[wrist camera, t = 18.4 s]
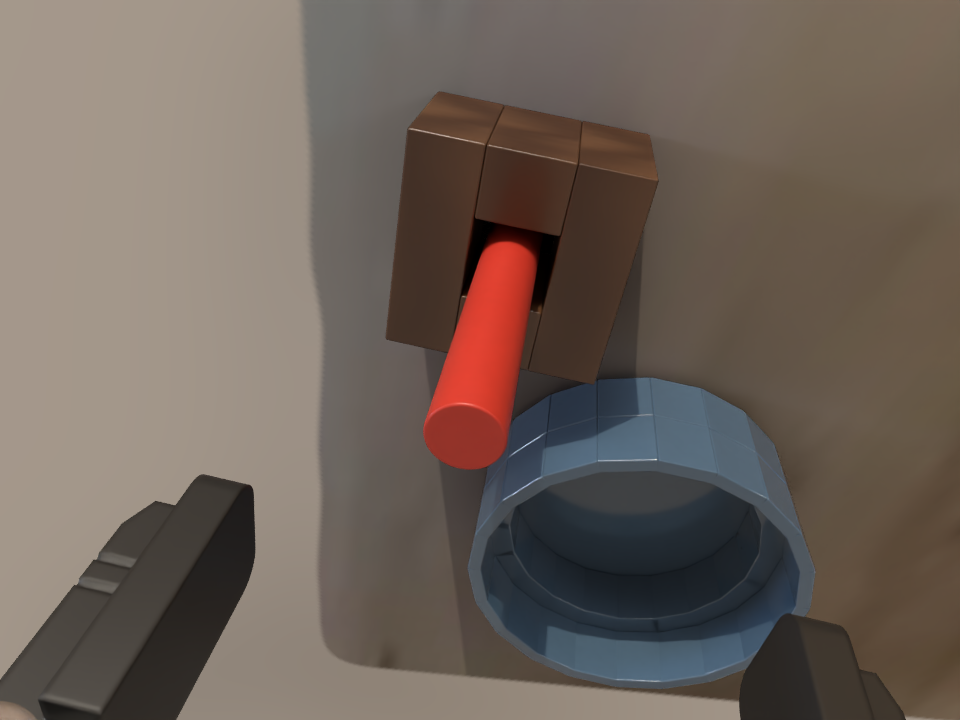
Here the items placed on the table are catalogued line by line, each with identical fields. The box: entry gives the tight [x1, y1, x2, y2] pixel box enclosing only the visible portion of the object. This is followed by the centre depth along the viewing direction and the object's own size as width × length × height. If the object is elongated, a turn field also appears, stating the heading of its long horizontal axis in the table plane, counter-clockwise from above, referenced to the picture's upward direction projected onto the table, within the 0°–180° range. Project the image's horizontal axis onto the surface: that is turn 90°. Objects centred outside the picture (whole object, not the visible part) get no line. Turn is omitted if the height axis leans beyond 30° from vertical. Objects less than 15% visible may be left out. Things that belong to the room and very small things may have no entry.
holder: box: [386, 92, 659, 385], centre depth 26 cm, size 8×8×5 cm
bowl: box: [468, 377, 815, 689], centre depth 33 cm, size 14×14×6 cm
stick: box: [423, 222, 543, 470], centre depth 22 cm, size 2×2×14 cm
